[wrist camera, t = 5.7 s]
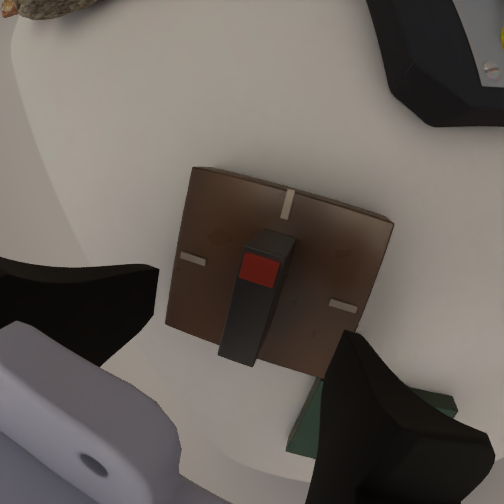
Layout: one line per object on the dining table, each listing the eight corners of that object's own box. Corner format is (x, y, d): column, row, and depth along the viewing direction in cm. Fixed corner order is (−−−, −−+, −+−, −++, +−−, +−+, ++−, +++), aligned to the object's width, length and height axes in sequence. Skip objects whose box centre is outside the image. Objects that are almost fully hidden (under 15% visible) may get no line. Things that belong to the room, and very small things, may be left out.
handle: (268, 330, 16) (251, 371, 13) (239, 320, 17) (214, 358, 13) (296, 238, 15) (285, 259, 11) (264, 228, 15) (242, 246, 12)
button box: (288, 435, 21) (280, 469, 18) (322, 365, 19) (318, 399, 16) (405, 459, 19) (409, 492, 16) (452, 396, 17) (465, 428, 14)
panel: (182, 309, 20) (162, 327, 18) (210, 165, 18) (191, 164, 15) (333, 359, 19) (332, 384, 16) (386, 214, 16) (396, 221, 13)
